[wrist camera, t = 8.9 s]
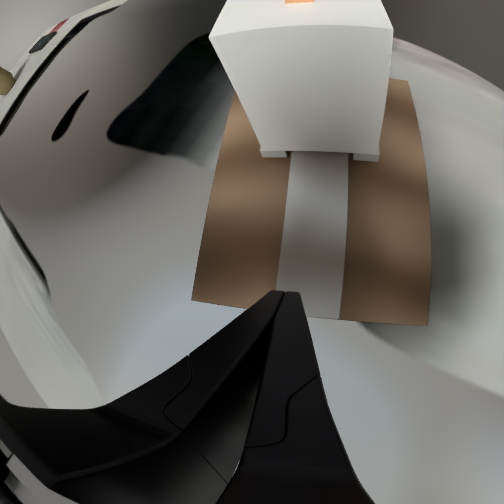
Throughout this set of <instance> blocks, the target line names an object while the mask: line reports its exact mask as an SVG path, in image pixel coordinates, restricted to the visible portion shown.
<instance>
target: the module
mask: <svg viewBox="0 0 504 504" xmlns="http://www.w3.org/2000/svg"><path fill="white" fill-rule="evenodd" d="M209 39H210V41H211V43H212V45H213V47H214V49H215V51H216V53H217V55H218V57H219V59H220V60H221V62H222V65H223V67H224V69H225V71H226V73H227V75H228V77H229V79H230V81H231V83H232V85H233V87H234V89H235V91H236V93H237V95H238V97H239V100H240V102H241V104H242V106H243V108H244V110H245V112H246V115H247V117H248V119H249V121H250V123H251V125H252V128H253V130H254V132H255V134H256V137H257V139H258V141H259V143H260V153H261V155H262V157H287V154H288V151H323V152H344V153H353V160H361V161H373V162H378V161H379V156H380V151H379V140H380V134H381V129H382V123H383V117H384V110H385V104H386V97H387V90H388V82H389V73H390V64H391V54H392V42H393V27H392V25H391V23H390V20H389V18H388V16H387V13H386V11H385V9H384V7H383V5H382V3H381V0H227V2H226V4H225V6H224V7H223V10H222V11H221V14H220V15H219V17H218V19H217V21H216V23H215V25H214V27H213V29H212V31H211V33H210V35H209Z"/></svg>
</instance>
